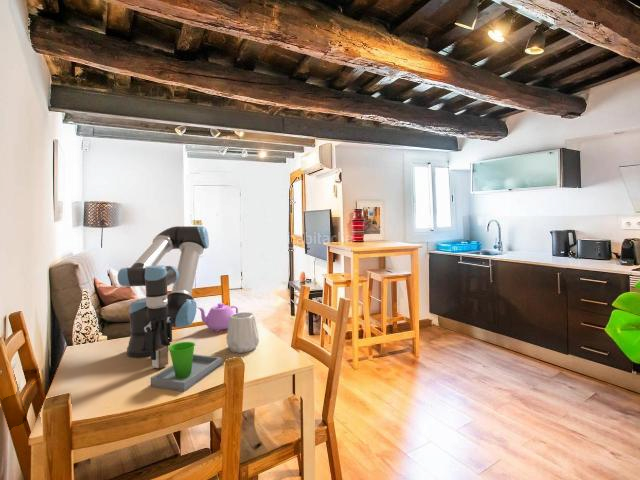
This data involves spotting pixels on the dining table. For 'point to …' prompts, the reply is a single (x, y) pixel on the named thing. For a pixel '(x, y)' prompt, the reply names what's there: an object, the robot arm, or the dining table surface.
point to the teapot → (218, 317)
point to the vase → (242, 332)
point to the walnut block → (163, 356)
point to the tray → (199, 371)
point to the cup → (182, 358)
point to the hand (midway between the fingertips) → (160, 364)
